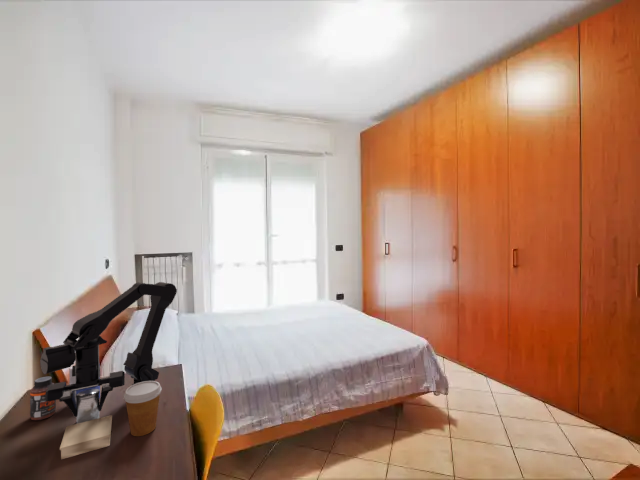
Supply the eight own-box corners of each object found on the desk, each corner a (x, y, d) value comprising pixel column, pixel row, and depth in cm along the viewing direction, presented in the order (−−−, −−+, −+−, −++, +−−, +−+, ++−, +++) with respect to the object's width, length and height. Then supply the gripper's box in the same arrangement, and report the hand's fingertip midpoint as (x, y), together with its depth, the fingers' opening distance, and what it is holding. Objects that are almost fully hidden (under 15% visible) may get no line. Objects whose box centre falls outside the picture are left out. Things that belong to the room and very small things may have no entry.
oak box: (112, 425, 93) (112, 415, 92) (110, 445, 84) (110, 434, 84) (66, 437, 87) (66, 426, 87) (60, 460, 78) (59, 448, 78)
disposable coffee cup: (115, 435, 88) (115, 392, 88) (145, 416, 97) (145, 377, 97) (140, 443, 84) (140, 399, 84) (169, 423, 93) (169, 383, 93)
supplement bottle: (40, 422, 94) (40, 384, 94) (24, 420, 95) (24, 382, 95) (61, 411, 100) (60, 375, 100) (45, 409, 101) (45, 373, 101)
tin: (100, 412, 99) (100, 387, 99) (99, 422, 94) (98, 394, 94) (77, 418, 96) (77, 391, 96) (75, 428, 91) (74, 400, 91)
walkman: (100, 397, 108) (99, 362, 108) (95, 402, 105) (95, 366, 105) (74, 399, 107) (73, 364, 107) (69, 404, 104) (68, 367, 104)
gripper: (124, 347, 107) (124, 393, 107) (52, 358, 97) (53, 409, 97) (124, 358, 97) (124, 409, 97) (44, 372, 87) (45, 428, 88)
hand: (88, 413), depth 95 cm, fingers closed on tin, 5 cm apart
